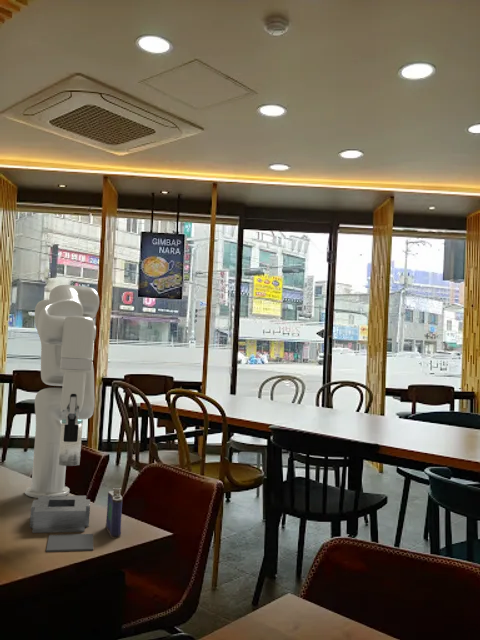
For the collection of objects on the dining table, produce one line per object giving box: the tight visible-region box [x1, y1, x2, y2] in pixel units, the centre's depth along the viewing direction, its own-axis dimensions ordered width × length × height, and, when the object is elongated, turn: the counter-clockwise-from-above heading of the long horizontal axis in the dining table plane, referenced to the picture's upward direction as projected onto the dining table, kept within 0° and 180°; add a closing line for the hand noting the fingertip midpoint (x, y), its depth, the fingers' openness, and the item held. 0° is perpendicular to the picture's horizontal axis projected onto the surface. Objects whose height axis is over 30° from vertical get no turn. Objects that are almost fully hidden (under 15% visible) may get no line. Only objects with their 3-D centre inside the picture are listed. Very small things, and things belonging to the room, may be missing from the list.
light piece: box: [58, 419, 84, 467], centre depth 137 cm, size 5×5×11 cm
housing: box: [29, 495, 91, 534], centre depth 142 cm, size 14×14×5 cm
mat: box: [45, 533, 94, 553], centre depth 128 cm, size 10×10×1 cm
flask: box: [105, 487, 123, 539], centre depth 138 cm, size 9×3×11 cm, turn 22°
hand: (70, 439), depth 137 cm, fingers closed on light piece, 5 cm apart
